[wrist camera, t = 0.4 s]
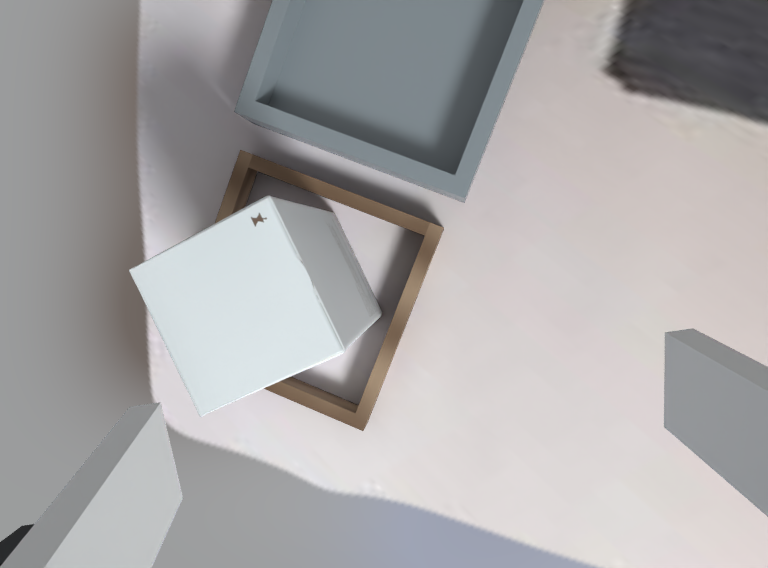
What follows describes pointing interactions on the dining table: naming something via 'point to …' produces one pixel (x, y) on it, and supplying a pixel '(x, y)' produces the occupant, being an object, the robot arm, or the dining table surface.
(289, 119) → the grey tray
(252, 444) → the dining table surface
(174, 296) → the supplement box
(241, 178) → the walnut collar
